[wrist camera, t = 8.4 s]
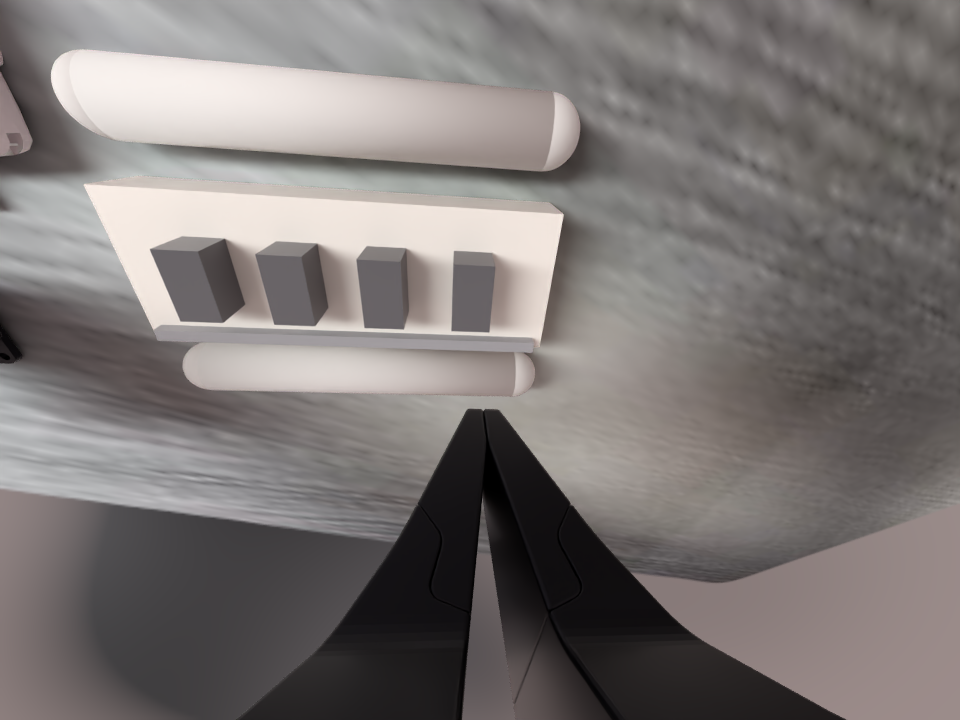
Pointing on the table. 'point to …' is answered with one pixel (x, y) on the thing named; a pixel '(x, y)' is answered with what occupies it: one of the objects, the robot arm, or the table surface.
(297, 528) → the table surface
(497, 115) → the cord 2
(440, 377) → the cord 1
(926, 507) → the table surface
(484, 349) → the breaker strip
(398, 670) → the robot arm
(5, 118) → the mobile phone
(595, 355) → the table surface
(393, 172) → the table surface
